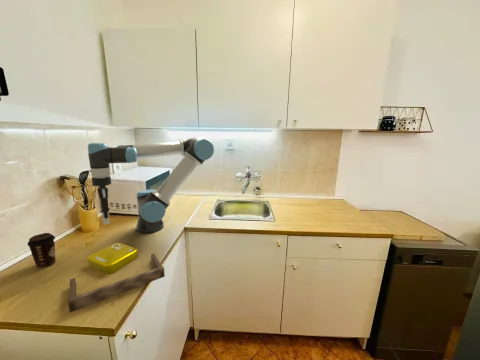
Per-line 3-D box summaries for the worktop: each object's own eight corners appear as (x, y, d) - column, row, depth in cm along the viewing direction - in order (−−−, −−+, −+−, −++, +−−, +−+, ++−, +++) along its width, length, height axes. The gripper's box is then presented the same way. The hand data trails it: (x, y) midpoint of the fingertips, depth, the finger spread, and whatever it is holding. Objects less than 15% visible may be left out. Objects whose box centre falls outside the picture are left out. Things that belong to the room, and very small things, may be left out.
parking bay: (154, 259, 97) (154, 251, 96) (164, 276, 85) (164, 267, 84) (71, 286, 79) (69, 276, 78) (69, 312, 68) (67, 301, 67)
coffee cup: (57, 256, 98) (52, 230, 95) (61, 263, 93) (56, 235, 90) (31, 264, 91) (25, 237, 89) (34, 272, 86) (28, 243, 83)
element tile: (86, 266, 91) (84, 256, 90) (118, 249, 105) (117, 240, 104) (109, 276, 86) (108, 265, 85) (140, 257, 99) (139, 247, 98)
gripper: (90, 175, 102) (96, 220, 107) (92, 180, 92) (98, 230, 97) (109, 173, 106) (113, 217, 111) (112, 178, 96) (117, 226, 101)
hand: (106, 223), depth 104 cm, fingers closed
